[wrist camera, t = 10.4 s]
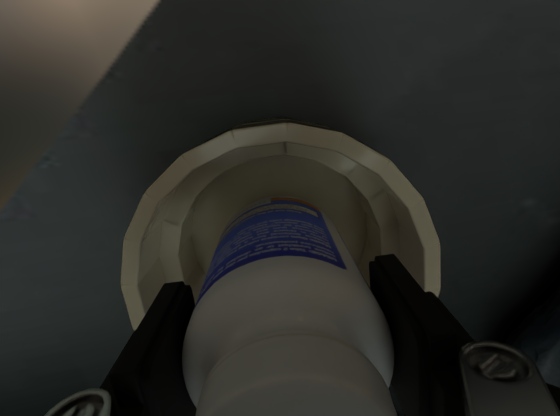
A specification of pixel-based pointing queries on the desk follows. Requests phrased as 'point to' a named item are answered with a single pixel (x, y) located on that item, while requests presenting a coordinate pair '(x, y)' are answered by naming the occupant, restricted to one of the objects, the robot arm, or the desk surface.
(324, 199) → the basin
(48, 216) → the desk surface
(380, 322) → the pill bottle
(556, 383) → the black pouch
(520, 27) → the desk surface
